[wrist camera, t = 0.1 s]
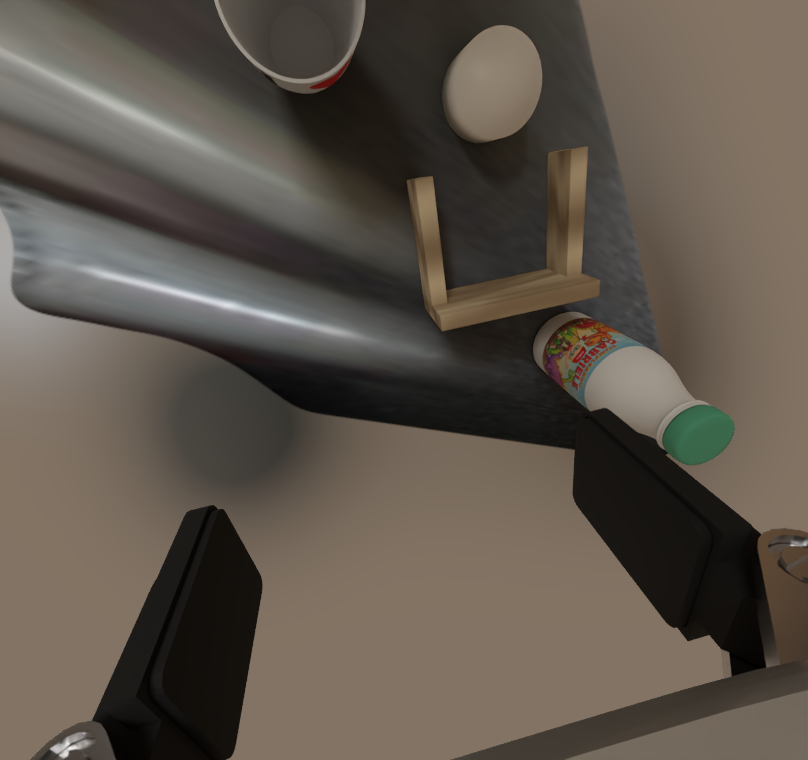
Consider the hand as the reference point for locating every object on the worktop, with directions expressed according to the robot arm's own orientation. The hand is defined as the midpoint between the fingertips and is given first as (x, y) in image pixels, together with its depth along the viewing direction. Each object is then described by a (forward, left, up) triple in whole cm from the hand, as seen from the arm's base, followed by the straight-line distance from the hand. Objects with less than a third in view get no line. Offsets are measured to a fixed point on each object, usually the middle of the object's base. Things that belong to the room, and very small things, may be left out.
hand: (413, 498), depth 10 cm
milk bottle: (+13, +22, -31) cm, 40 cm away
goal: (-1, +14, -31) cm, 34 cm away
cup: (-17, 0, -31) cm, 36 cm away
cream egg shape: (-12, +14, -31) cm, 36 cm away
